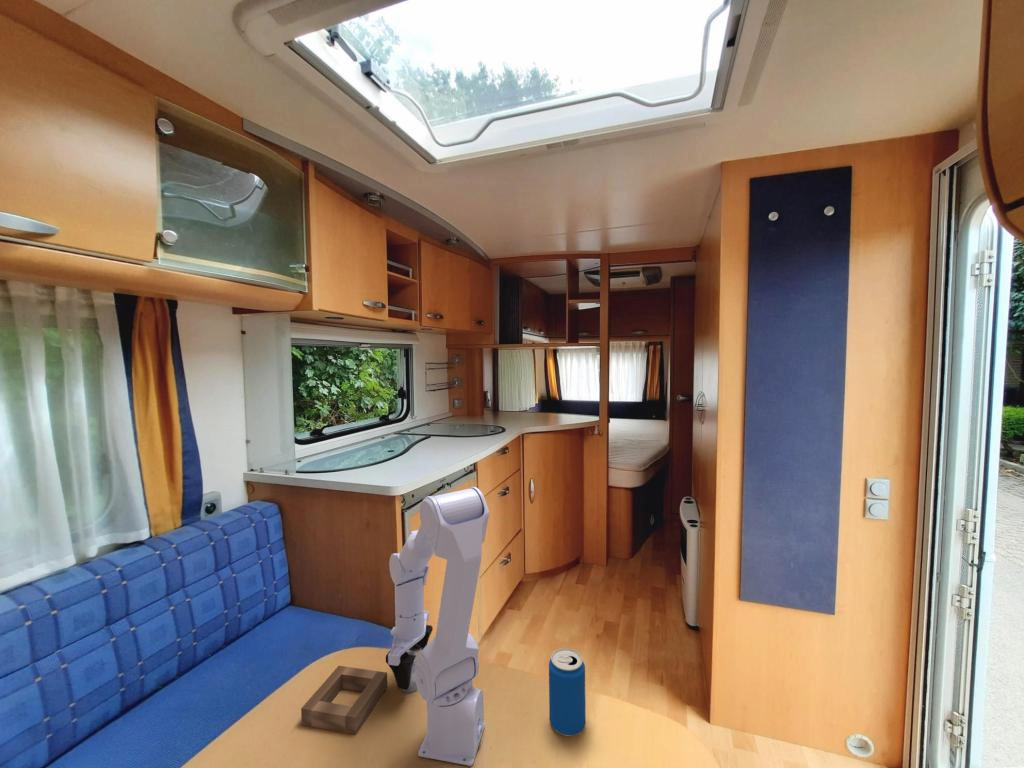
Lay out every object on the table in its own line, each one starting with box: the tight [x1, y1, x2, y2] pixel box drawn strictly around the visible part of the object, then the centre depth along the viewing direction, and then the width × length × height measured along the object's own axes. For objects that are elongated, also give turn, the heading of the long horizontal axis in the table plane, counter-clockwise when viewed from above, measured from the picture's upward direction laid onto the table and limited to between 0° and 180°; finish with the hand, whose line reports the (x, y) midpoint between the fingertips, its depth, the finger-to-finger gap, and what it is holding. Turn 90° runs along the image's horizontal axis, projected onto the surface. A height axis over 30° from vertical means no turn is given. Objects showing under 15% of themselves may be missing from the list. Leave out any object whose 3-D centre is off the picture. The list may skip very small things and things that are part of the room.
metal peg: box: [400, 644, 422, 694], centre depth 82 cm, size 4×4×7 cm
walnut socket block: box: [300, 665, 388, 735], centre depth 77 cm, size 11×11×3 cm
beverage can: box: [548, 647, 587, 737], centre depth 72 cm, size 6×6×12 cm
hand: (411, 675), depth 82 cm, fingers open, 6 cm apart
